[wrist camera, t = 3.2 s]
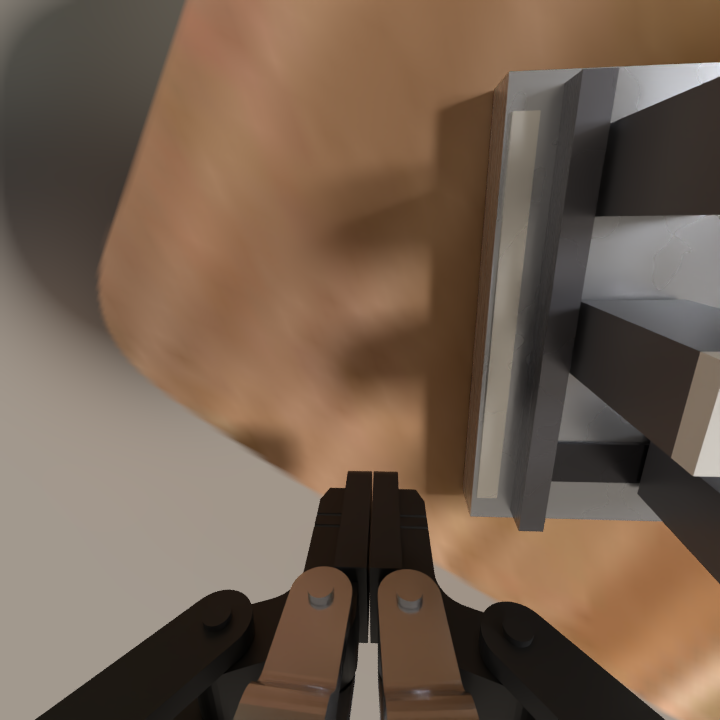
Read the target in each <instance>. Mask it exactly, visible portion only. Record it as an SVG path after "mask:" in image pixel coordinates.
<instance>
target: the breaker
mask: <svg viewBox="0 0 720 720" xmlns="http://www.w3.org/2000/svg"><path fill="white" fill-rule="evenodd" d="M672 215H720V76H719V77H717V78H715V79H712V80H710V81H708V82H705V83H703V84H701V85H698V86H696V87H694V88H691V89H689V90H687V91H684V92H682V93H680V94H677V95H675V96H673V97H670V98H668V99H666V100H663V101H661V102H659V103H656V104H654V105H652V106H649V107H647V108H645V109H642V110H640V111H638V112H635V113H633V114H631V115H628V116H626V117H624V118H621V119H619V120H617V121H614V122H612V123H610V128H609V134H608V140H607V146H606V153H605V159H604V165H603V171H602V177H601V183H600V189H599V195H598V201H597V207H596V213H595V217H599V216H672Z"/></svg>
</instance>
